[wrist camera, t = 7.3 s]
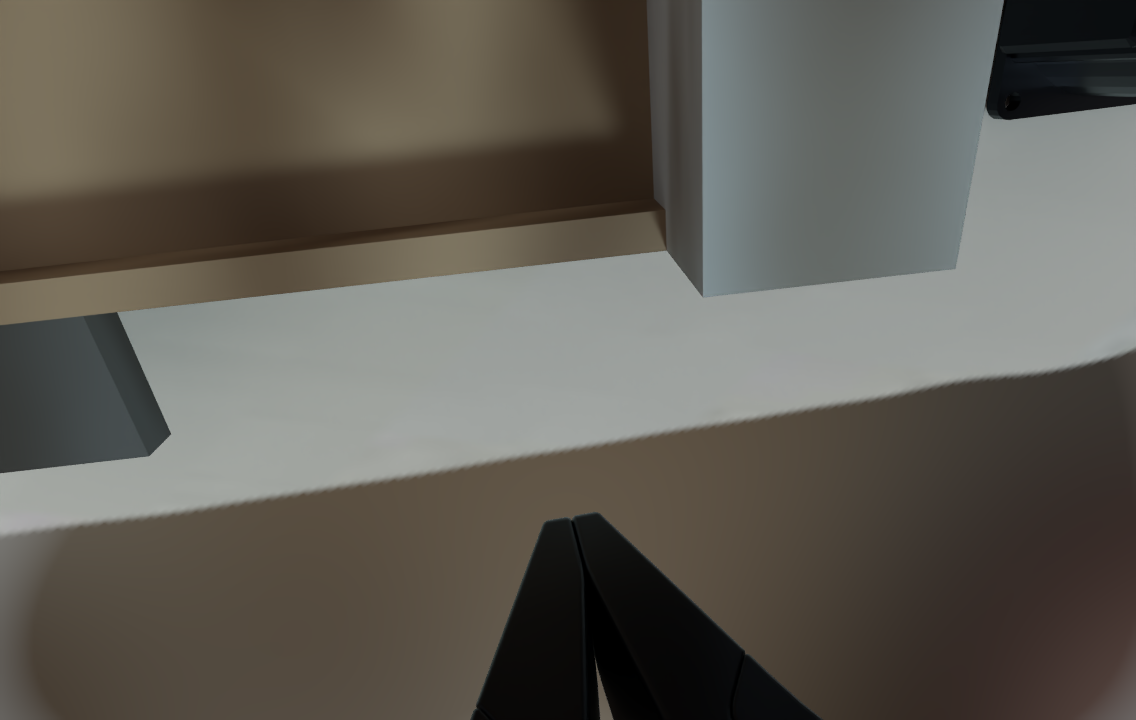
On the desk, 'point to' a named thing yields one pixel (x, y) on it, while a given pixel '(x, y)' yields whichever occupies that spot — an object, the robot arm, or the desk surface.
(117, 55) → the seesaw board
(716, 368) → the desk surface
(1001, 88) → the robot arm
